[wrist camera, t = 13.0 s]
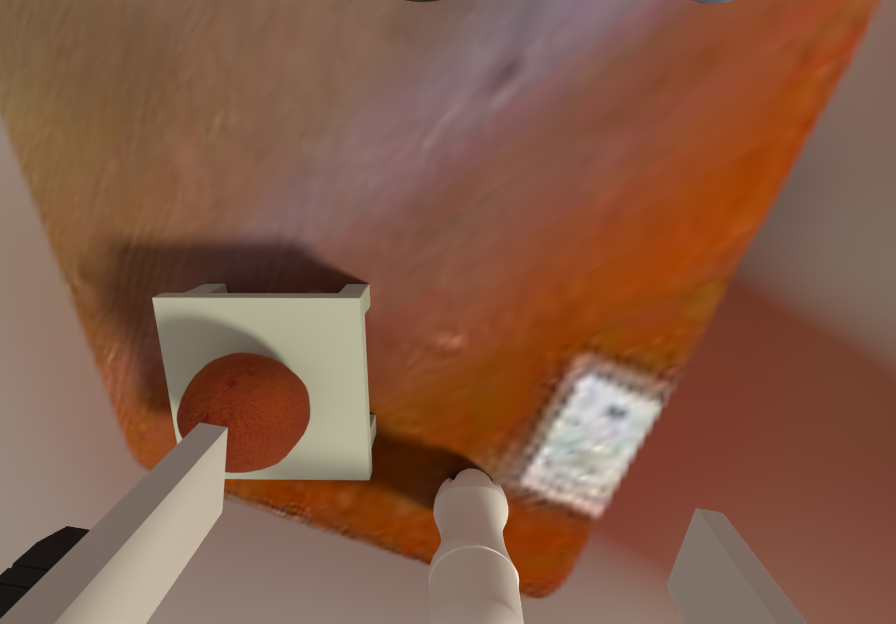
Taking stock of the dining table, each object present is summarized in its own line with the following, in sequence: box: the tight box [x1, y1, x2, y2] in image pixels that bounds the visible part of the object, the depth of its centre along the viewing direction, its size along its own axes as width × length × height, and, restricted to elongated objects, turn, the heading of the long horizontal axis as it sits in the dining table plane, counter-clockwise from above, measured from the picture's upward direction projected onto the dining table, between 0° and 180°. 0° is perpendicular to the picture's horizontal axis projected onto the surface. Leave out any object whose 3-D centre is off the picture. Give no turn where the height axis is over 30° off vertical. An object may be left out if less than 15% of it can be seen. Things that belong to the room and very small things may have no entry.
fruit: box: [177, 352, 310, 473], centre depth 36 cm, size 9×9×8 cm
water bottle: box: [427, 469, 524, 624], centre depth 38 cm, size 7×7×25 cm
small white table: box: [152, 284, 376, 480], centre depth 43 cm, size 16×16×7 cm
